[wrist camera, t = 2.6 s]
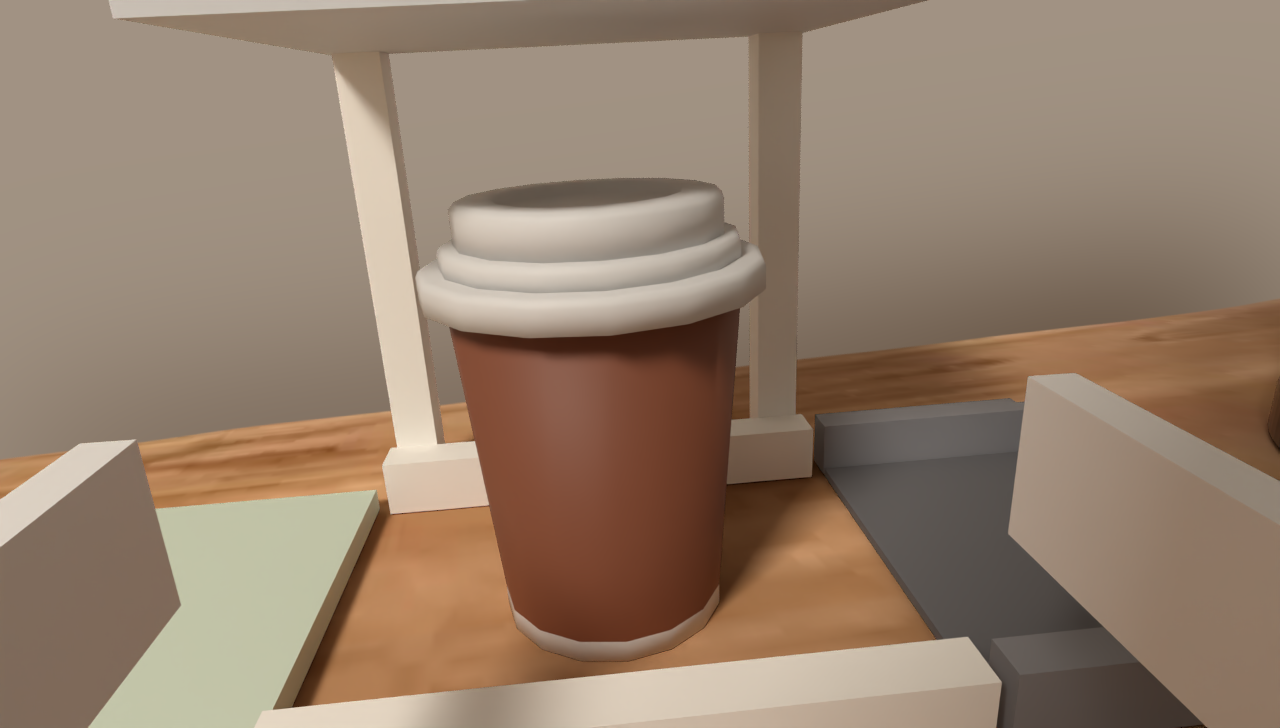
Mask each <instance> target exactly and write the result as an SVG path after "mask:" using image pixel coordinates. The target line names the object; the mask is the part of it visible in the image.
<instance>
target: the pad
mask: <svg viewBox="0 0 1280 728" xmlns="http://www.w3.org/2000/svg"><path fill="white" fill-rule="evenodd" d="M155 510H156V514H157V517H158V521H159V525H160V528H161V532H162V536H163V540H164V543H165V547H166V551H167V554H168V558H169V562H170V565H171V569H172V573H173V577H174V580H175V584H176V588H177V591H178V595H179V599H180V603H181V606H180V607H179V609H178V610H177V611H176V613H175V614H174V615H173V616H172V618H171V619H170V620H169V622H168V623H167V624H166V626H165V627H164V628H163V630H162V631H161V632H160V634H159V635H158V636H157V638H156V639H155V640H154V641H153V643H152V644H151V645H150V647H149V648H148V649H147V651H146V652H145V653H144V655H143V656H142V657H141V659H140V660H139V661H138V662H137V664H136V665H135V666H134V668H133V669H132V670H131V672H130V673H129V674H128V676H127V677H126V678H125V680H124V681H123V682H122V684H121V685H120V686H119V687H118V689H117V690H116V691H115V693H114V694H113V695H112V697H111V698H110V699H109V701H108V702H107V703H106V705H105V706H104V707H103V709H102V710H101V711H100V712H99V714H98V715H97V716H96V718H95V719H94V720H93V722H92V723H91V724H90V726H89V727H88V728H254V727H255V725H256V723H257V721H258V719H259V717H260V714H261V712H262V711H267V710H277V709H286V708H292V706H293V704H294V701H295V699H296V697H297V695H298V692H299V690H300V688H301V686H302V683H303V681H304V679H305V677H306V674H307V672H308V670H309V668H310V665H311V663H312V661H313V659H314V656H315V654H316V652H317V650H318V647H319V645H320V643H321V641H322V638H323V636H324V634H325V631H326V629H327V627H328V625H329V622H330V620H331V618H332V616H333V613H334V611H335V609H336V607H337V604H338V602H339V600H340V598H341V595H342V593H343V591H344V589H345V586H346V584H347V582H348V580H349V577H350V575H351V573H352V571H353V568H354V566H355V564H356V562H357V559H358V557H359V555H360V553H361V550H362V548H363V546H364V544H365V541H366V539H367V537H368V535H369V532H370V530H371V528H372V525H373V523H374V521H375V519H376V516H377V514H378V512H379V510H380V506H379V501H378V495H377V490H369V491H357V492H346V493H334V494H323V495H311V496H299V497H288V498H276V499H265V500H253V501H242V502H230V503H219V504H207V505H196V506H184V507H172V508H161V509H155Z"/></svg>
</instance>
